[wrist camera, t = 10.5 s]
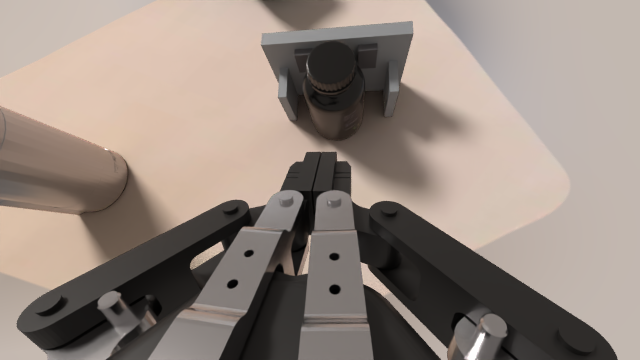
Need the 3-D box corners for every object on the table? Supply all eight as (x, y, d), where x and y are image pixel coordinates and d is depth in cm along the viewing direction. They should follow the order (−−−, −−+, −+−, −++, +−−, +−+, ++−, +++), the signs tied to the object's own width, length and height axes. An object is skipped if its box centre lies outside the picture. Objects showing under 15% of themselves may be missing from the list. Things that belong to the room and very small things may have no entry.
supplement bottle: (303, 125, 37) (280, 70, 26) (332, 88, 38) (322, 19, 27) (343, 151, 36) (338, 105, 24) (373, 112, 36) (381, 49, 25)
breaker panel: (399, 116, 36) (415, 67, 26) (282, 120, 38) (258, 77, 28) (397, 79, 37) (412, 21, 28) (284, 86, 39) (262, 33, 30)
